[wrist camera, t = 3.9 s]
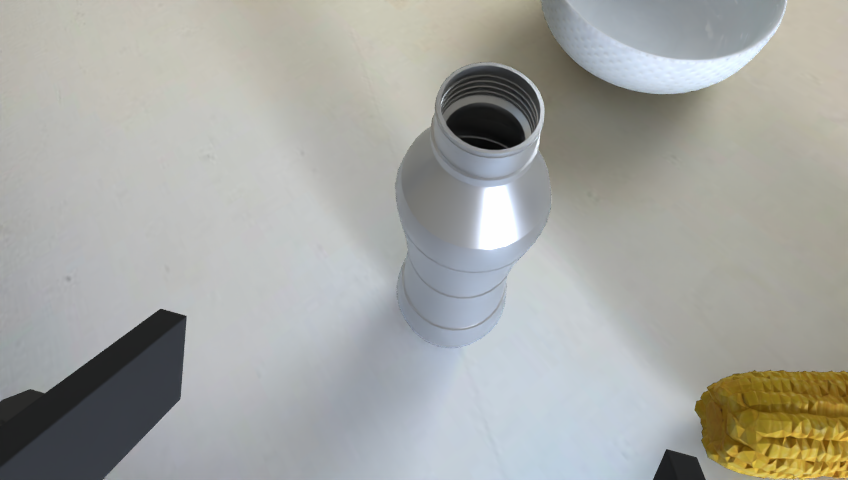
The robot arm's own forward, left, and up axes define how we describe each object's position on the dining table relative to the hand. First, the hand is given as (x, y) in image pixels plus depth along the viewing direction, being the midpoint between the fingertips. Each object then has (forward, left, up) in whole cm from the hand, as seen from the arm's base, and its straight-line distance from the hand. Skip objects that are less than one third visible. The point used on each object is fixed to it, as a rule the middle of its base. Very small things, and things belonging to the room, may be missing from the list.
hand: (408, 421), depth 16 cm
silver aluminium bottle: (+4, +9, -19) cm, 22 cm away
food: (+26, -3, -19) cm, 33 cm away
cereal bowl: (+23, +28, -19) cm, 41 cm away
